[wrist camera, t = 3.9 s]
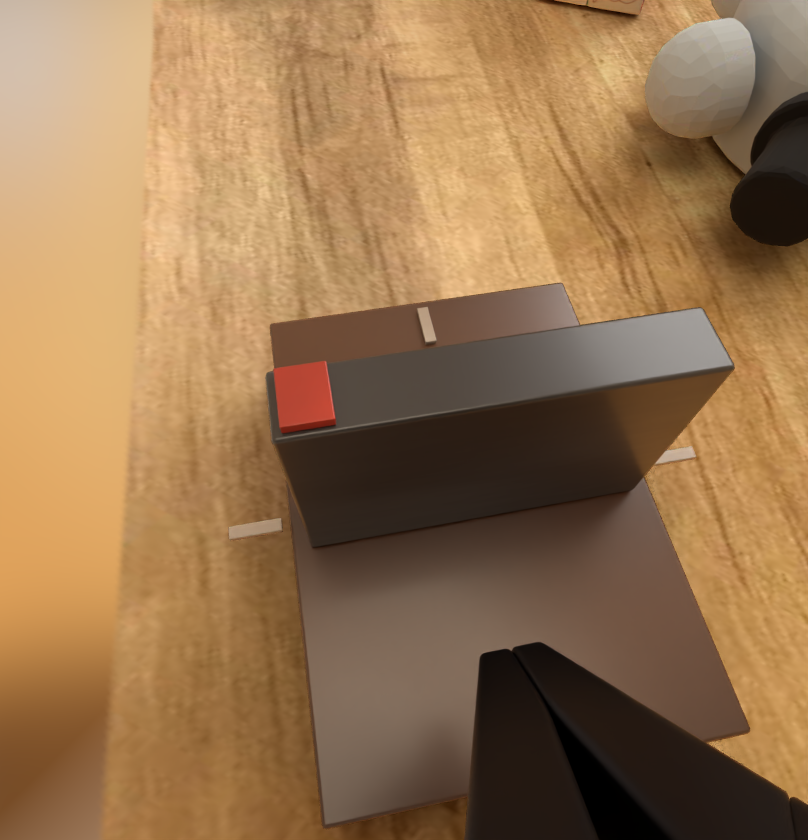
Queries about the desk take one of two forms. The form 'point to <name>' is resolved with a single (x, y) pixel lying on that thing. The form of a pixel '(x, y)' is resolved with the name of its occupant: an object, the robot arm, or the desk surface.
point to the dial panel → (478, 594)
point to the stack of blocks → (612, 5)
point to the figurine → (745, 106)
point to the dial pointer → (488, 422)
